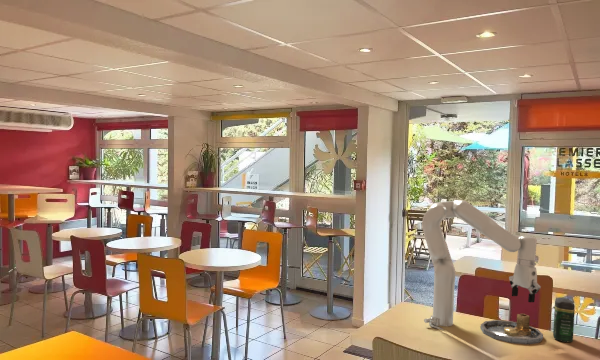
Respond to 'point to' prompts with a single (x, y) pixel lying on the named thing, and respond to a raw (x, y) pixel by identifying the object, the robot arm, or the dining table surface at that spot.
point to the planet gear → (523, 324)
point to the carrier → (510, 332)
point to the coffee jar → (564, 320)
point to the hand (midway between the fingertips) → (522, 299)
